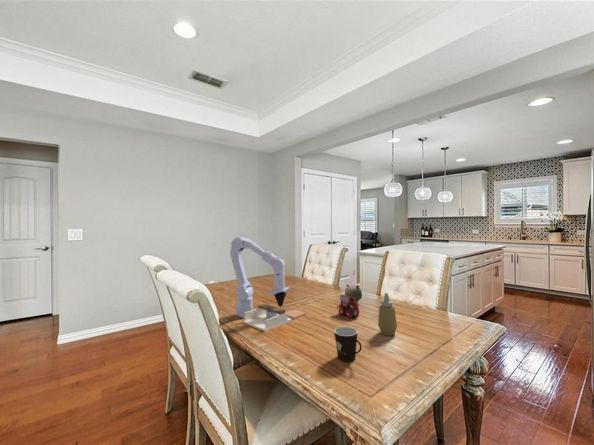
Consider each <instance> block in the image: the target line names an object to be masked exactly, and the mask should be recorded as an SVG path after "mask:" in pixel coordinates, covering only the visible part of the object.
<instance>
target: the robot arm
mask: <svg viewBox="0 0 594 445" xmlns="http://www.w3.org/2000/svg"><path fill="white" fill-rule="evenodd" d="M230 245H231V246H230V252H229V255H230V259H231V263H232V266H233V269H234V273H235V274H234V275H235V276H236V281H237V288H236V289H237V293H236V295H237V296H236V297H237V298H238V299H237V300H236V303H235V308H236V310H235V311H236V313H235V314H234V315H235V316H237V317H240V318H242V319H244V313H245V312H248V311H251V310H254V309H253V307H254V306H253V295H254V293H255V291H254V288H253V286H252V284H251V282H249V280H248V276H247V273H246V270H245V266H244V263H243V259H242V256H241V254H242V252H243V251H244V249H245V250H247V249H250V250H251V251H252V252H254V253H256V254H257V255H259V256H260V257H261V259H262V260H263V261H264V262H265V263H267V264H268V265H270V266H271V267H272V270H273V275H274V276H273V279H274V280H273V282H274V283H273V284H274V285H273V286H274V289H272V290H270V291H268V296H269V297H273V296H274V298H275V299H276V303H277V306H278V307H280V308H281V307H283V304H284V301H285V298H286V296H287V292H289V291H291V286H286V281H285V280H286V278H285V277H286V276H285V274H286V273H285V267H286V261H285V260H284V259H283V258H281V257H279V256H277V255H276V254H273V251H272V250H270V251H269V250H266V251H265V249H263V248H262V247H260V246H259V245H258V244H257V243H255V242H254V241H253V240H252V239H250V238H248V237H247V236H241V237H234V239H233V240H232V241H231V243H230Z"/></svg>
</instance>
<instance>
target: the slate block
mask: <svg viewBox="0 0 594 445" xmlns="http://www.w3.org/2000/svg"><path fill="white" fill-rule="evenodd" d="M275 316H277V313H274V312H271V311H267V310H266V320H267V319H270V318H272V317H275Z"/></svg>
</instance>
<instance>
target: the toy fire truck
mask: <svg viewBox="0 0 594 445" xmlns="http://www.w3.org/2000/svg"><path fill="white" fill-rule="evenodd" d="M339 299H340V307H339V309H338V314H339V315H340V316H342V317H343V316H346V318H347V319H351V318H353V317H358V316H359V315H360V309H359V305H357V303H358V302H356V301H354V300H355V299H354V297H349V296H346V295H345V294H340V295H339Z"/></svg>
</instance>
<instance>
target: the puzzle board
mask: <svg viewBox="0 0 594 445" xmlns="http://www.w3.org/2000/svg"><path fill="white" fill-rule="evenodd" d="M266 311H267V310H264V309H261V308H258V307H257V308H255V309H253V310H251V311H248V312H245V313H244V318H243V319H244V320H242V324H245V325H247V326H250V327H253V328H254V329H257V330H260V331H262V332H268V331H271V330H273V329H275V328H278V327H280V326H282V325H285V324H288V323H290V322H292V320H293V319H292V318H289V317H287V312H288V311H285V313H283V314H277V316H275V317H272V318H270V319H267V320H266Z"/></svg>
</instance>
